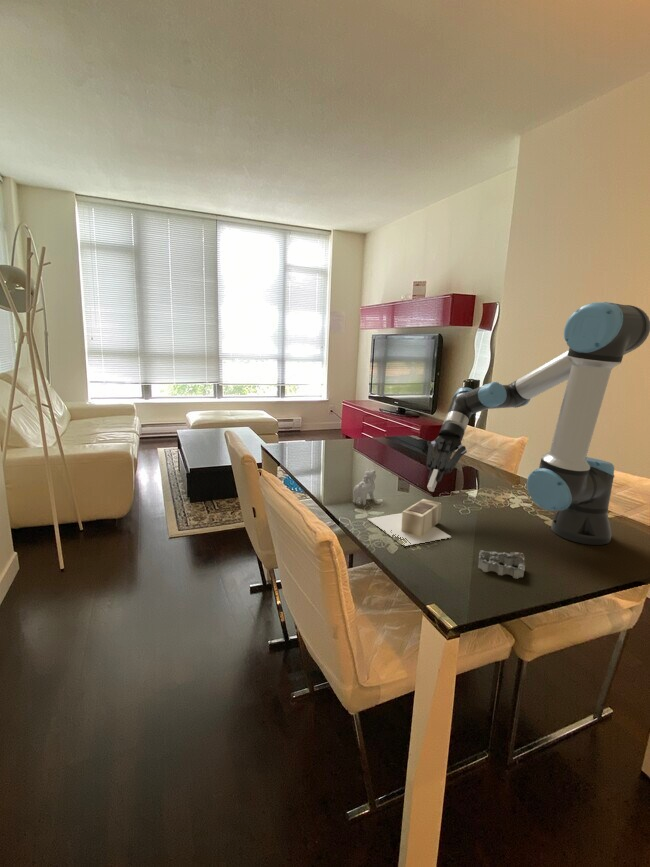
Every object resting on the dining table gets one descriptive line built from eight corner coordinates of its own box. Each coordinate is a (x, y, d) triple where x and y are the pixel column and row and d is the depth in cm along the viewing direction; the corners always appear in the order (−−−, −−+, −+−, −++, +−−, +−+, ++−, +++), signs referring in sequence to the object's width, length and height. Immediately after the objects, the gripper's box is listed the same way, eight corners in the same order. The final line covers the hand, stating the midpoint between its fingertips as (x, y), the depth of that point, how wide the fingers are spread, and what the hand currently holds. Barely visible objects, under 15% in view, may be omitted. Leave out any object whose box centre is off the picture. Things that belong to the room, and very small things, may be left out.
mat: (451, 538, 120) (451, 536, 120) (404, 547, 114) (404, 546, 114) (409, 513, 138) (410, 511, 138) (367, 520, 132) (367, 518, 132)
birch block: (441, 502, 129) (421, 516, 119) (440, 521, 131) (420, 536, 120) (423, 498, 133) (402, 510, 122) (422, 516, 134) (401, 530, 123)
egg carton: (524, 568, 105) (526, 553, 104) (523, 582, 99) (525, 566, 98) (479, 557, 110) (481, 543, 109) (475, 571, 103) (477, 555, 102)
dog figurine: (378, 496, 154) (380, 468, 152) (365, 507, 143) (366, 476, 141) (365, 493, 156) (366, 465, 154) (350, 504, 145) (351, 474, 143)
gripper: (475, 437, 139) (453, 499, 129) (437, 432, 146) (413, 490, 137) (471, 423, 134) (448, 487, 124) (432, 419, 141) (407, 478, 131)
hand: (430, 489), depth 130 cm, fingers closed
